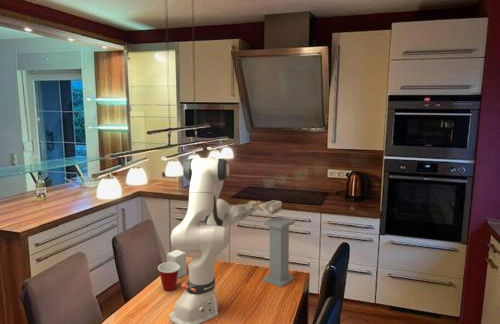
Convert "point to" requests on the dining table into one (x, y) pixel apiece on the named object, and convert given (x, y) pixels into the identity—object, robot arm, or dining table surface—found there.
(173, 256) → the supplement box
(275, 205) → the mallet
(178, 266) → the plastic cup
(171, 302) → the dining table surface
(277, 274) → the pedestal shelf
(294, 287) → the dining table surface
